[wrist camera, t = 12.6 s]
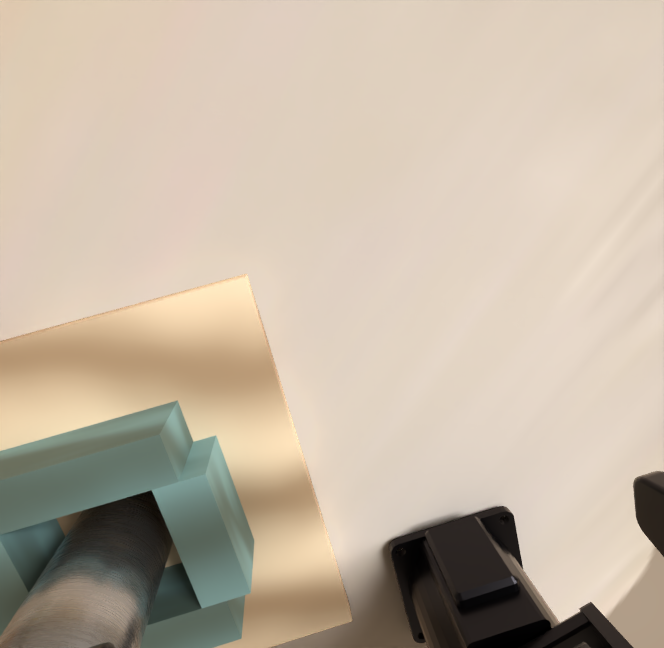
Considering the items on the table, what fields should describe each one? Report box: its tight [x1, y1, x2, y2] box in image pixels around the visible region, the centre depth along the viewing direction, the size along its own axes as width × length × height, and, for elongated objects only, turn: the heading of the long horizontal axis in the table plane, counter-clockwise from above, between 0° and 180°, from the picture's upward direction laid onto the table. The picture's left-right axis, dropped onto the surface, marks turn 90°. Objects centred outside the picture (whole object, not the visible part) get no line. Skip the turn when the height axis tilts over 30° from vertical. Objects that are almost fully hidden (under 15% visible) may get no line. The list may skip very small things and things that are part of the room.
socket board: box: [0, 274, 352, 648], centre depth 19 cm, size 18×16×4 cm
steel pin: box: [0, 490, 173, 648], centre depth 15 cm, size 4×4×10 cm
